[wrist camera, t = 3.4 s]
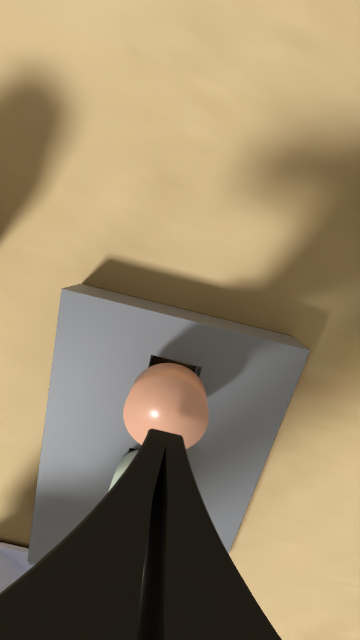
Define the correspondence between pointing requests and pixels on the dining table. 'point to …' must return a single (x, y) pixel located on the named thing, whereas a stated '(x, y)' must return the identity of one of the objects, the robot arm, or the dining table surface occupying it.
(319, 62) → the dining table surface
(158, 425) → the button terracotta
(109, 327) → the panel
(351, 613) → the dining table surface
